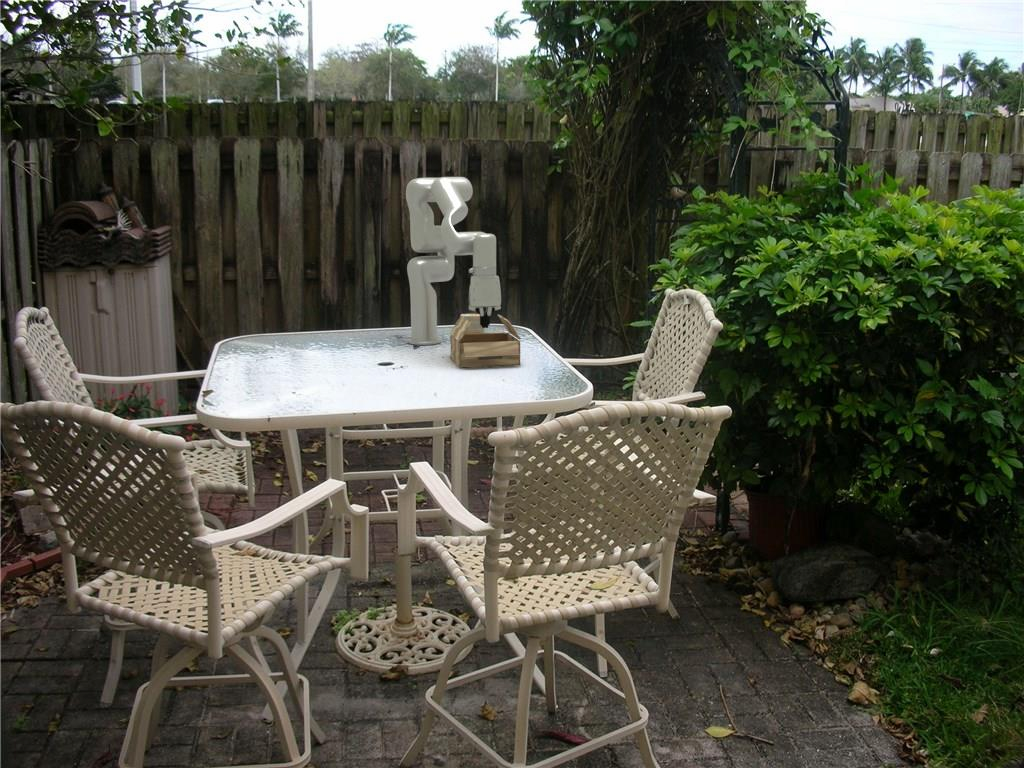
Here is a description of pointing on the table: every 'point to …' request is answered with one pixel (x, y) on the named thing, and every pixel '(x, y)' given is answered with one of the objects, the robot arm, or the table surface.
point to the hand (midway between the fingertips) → (484, 327)
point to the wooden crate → (461, 361)
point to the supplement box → (474, 323)
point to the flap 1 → (460, 328)
